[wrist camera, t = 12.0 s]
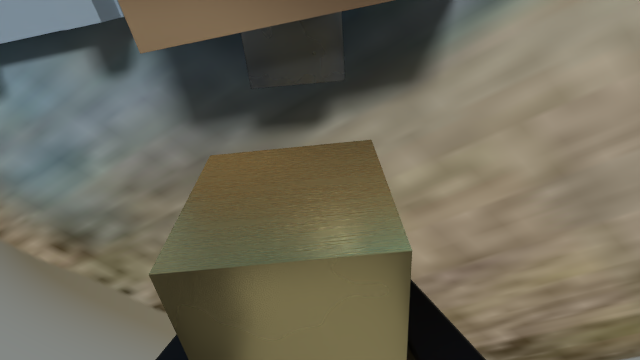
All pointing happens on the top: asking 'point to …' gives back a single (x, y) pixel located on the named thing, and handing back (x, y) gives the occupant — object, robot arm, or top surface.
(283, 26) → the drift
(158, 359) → the robot arm
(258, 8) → the beam
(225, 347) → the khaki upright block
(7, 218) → the top surface
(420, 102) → the top surface
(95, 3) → the cradle
